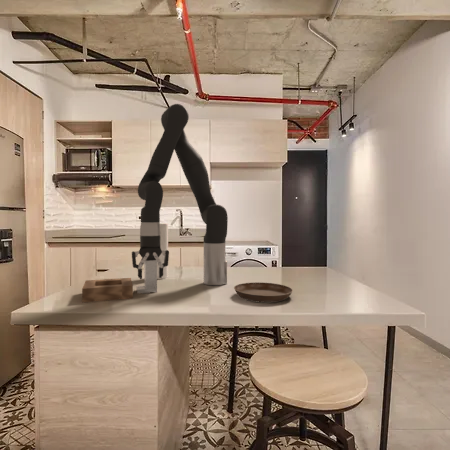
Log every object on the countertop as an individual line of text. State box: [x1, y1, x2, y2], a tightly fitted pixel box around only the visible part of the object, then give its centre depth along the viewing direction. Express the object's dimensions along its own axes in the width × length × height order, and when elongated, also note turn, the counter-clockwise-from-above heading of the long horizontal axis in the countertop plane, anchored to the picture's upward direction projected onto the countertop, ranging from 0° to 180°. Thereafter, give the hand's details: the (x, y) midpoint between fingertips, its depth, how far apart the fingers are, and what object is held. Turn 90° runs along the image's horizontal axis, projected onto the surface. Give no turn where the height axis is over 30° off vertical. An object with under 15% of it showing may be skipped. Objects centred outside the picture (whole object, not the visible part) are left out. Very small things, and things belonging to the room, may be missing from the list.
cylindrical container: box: [157, 222, 169, 280], centre depth 146 cm, size 7×7×25 cm
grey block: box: [136, 260, 158, 294], centre depth 119 cm, size 7×6×12 cm
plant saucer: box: [233, 282, 294, 303], centre depth 112 cm, size 21×21×3 cm
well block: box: [81, 277, 134, 303], centre depth 113 cm, size 16×14×4 cm
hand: (150, 278), depth 120 cm, fingers open, 6 cm apart
